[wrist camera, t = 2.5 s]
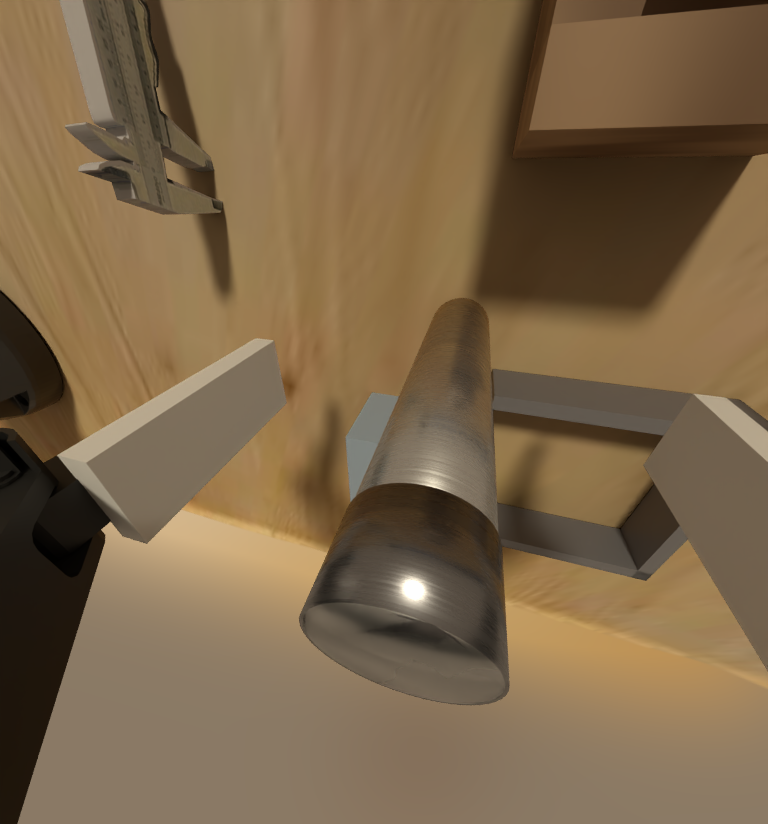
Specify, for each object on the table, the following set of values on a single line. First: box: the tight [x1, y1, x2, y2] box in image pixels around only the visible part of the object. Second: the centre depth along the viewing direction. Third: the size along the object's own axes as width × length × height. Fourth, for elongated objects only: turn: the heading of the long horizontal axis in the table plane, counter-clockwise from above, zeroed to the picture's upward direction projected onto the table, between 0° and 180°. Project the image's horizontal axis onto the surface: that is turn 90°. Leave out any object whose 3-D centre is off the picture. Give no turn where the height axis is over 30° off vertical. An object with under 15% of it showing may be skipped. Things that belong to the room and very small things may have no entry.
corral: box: [491, 369, 768, 581], centre depth 18 cm, size 12×12×3 cm
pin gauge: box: [299, 298, 509, 705], centre depth 10 cm, size 3×3×15 cm
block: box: [346, 393, 398, 501], centre depth 19 cm, size 6×6×5 cm
